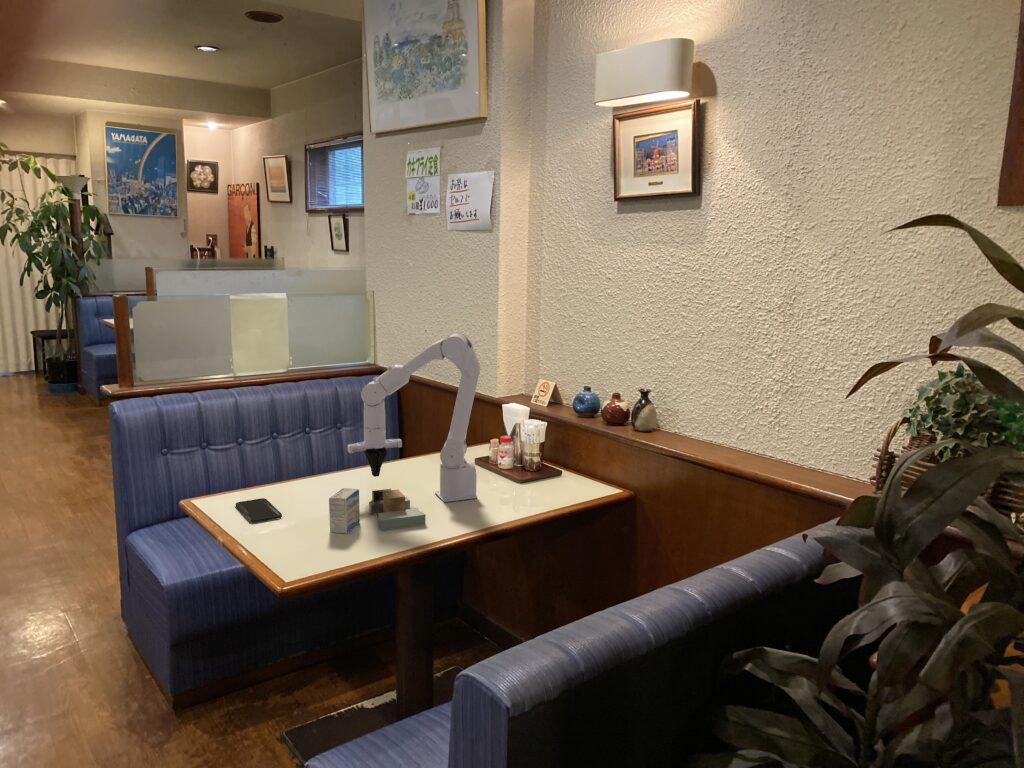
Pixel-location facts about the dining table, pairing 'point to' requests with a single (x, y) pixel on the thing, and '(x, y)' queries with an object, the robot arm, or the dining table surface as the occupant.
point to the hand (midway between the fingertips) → (375, 475)
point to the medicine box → (344, 510)
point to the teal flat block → (400, 519)
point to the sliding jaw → (381, 502)
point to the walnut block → (393, 501)
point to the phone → (258, 510)
